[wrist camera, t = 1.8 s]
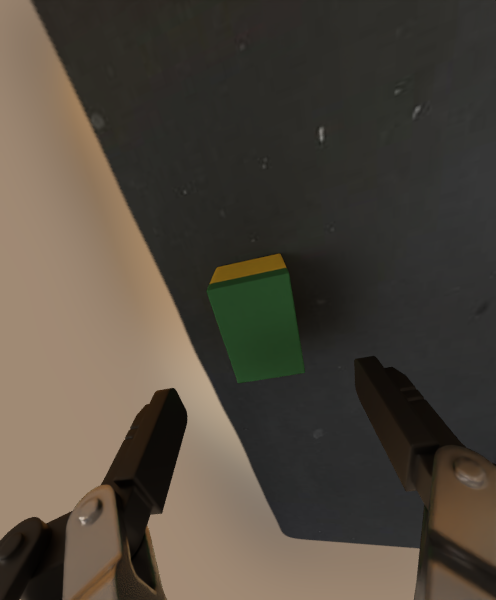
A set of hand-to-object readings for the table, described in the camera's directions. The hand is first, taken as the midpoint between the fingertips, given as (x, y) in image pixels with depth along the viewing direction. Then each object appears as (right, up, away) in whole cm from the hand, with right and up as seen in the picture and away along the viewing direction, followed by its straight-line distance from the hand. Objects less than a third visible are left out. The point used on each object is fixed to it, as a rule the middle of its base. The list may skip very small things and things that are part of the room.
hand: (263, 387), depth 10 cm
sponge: (0, +4, +7) cm, 8 cm away
